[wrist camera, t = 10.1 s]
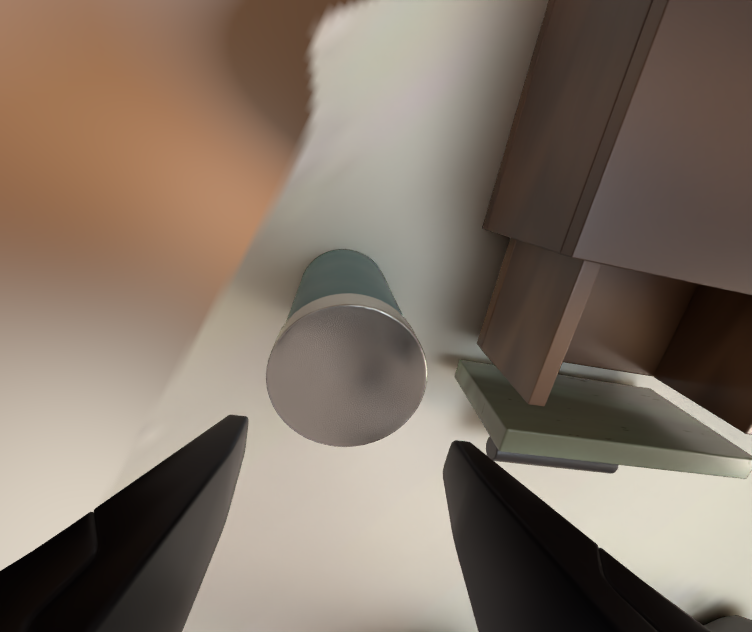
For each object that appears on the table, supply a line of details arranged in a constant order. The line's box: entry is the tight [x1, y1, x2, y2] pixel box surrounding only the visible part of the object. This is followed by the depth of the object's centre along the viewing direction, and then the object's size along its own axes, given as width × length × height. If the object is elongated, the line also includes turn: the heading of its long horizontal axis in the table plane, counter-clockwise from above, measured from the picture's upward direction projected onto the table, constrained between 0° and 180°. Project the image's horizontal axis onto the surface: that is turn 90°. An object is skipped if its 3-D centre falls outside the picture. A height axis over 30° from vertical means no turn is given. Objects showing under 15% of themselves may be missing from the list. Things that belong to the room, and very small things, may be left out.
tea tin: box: [266, 249, 427, 447], centre depth 16 cm, size 5×5×10 cm
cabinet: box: [482, 0, 752, 295], centre depth 15 cm, size 15×14×8 cm
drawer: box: [455, 238, 752, 479], centre depth 19 cm, size 18×13×7 cm
